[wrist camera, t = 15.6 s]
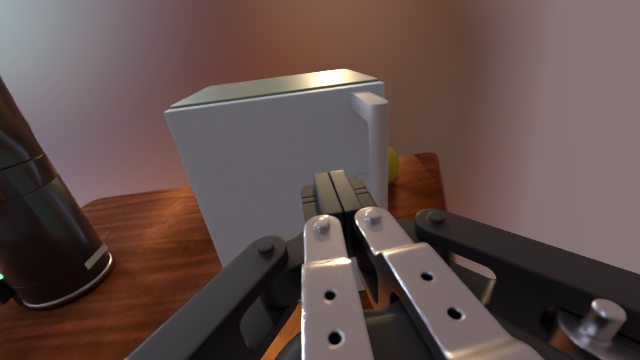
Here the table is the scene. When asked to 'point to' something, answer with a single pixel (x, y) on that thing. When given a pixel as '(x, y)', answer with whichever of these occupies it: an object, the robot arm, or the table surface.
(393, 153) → the lemon
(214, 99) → the cabinet
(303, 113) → the cabinet door
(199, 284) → the table surface
